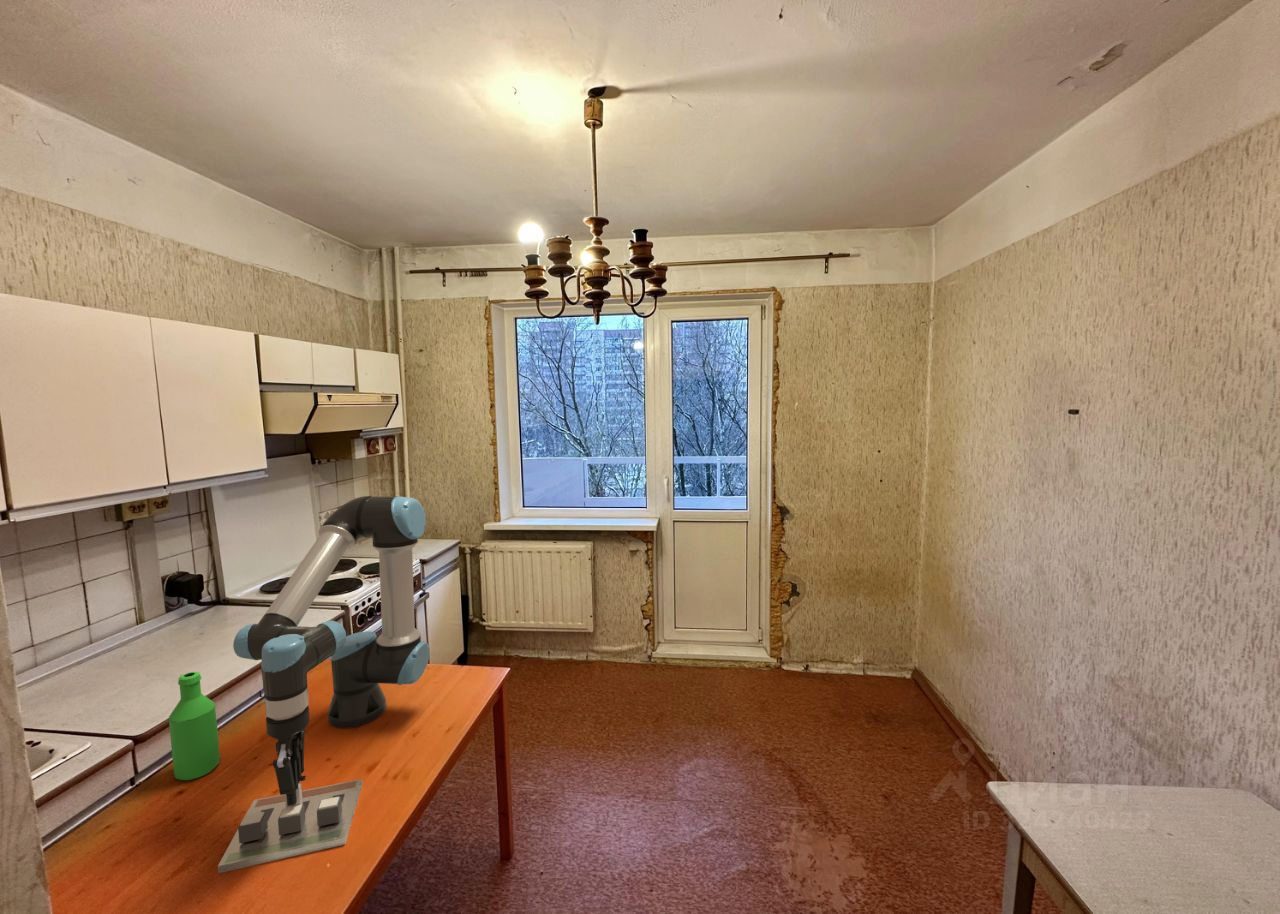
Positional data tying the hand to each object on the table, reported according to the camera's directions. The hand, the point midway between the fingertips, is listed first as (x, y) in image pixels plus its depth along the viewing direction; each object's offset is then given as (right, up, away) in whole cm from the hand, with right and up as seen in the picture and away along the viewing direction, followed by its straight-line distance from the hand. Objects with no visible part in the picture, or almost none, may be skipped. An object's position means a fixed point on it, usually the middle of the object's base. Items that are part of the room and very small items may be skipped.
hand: (294, 814), depth 113 cm
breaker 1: (-6, -2, -4) cm, 7 cm away
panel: (0, -3, +1) cm, 3 cm away
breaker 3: (+7, -1, 0) cm, 7 cm away
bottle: (-36, -2, +18) cm, 40 cm away
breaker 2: (+1, -2, -2) cm, 3 cm away
